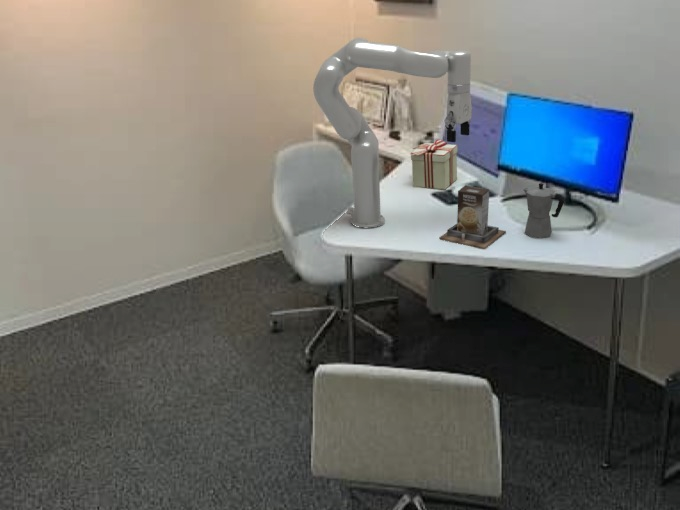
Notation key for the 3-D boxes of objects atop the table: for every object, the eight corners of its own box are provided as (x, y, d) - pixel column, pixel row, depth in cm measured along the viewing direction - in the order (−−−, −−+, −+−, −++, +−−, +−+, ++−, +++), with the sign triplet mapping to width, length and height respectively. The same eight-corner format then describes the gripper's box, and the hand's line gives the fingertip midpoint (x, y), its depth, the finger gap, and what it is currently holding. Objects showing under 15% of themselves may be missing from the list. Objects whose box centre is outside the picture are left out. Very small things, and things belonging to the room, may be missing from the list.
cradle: (439, 239, 247) (439, 230, 245) (461, 224, 258) (461, 215, 257) (484, 249, 237) (484, 240, 236) (505, 233, 249) (506, 224, 247)
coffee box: (455, 235, 247) (456, 190, 241) (463, 228, 252) (464, 184, 246) (481, 239, 243) (482, 194, 236) (488, 233, 248) (489, 188, 241)
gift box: (416, 175, 312) (415, 136, 304) (458, 178, 305) (458, 138, 297) (403, 188, 297) (402, 147, 290) (447, 191, 290) (447, 150, 283)
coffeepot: (513, 232, 249) (516, 183, 241) (529, 224, 254) (531, 176, 247) (553, 244, 238) (557, 192, 231) (568, 235, 244) (572, 184, 237)
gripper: (456, 94, 235) (455, 145, 242) (480, 84, 247) (479, 133, 254) (436, 92, 239) (436, 143, 246) (461, 83, 251) (460, 131, 258)
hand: (458, 138), depth 250 cm, fingers open, 9 cm apart
